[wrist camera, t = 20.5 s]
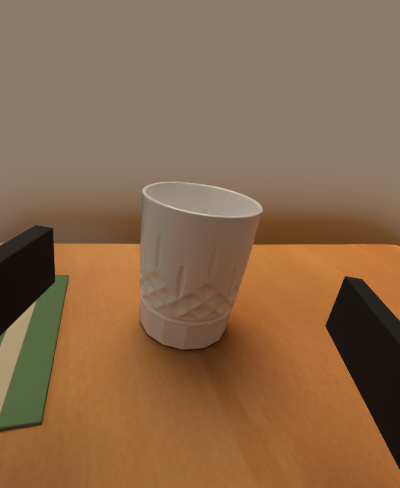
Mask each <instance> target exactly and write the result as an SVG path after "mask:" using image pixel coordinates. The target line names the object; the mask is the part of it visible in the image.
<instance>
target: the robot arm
mask: <svg viewBox="0 0 400 488" xmlns="http://www.w3.org/2000/svg"><path fill="white" fill-rule="evenodd" d="M54 283H55V264H54V242H53V228H49V227H42V226H34V227H32V228H31V229H29V230H27V231H25V232H23V233H22V234H20V235H18V236H17V237H15V238H13V239H11V240H10V241H8V242H6V243H4V244H2V245H1V246H0V336H1V335H2V334H3V333H4V332H5V331H6V330H7V329H8V328H9V327H10V326H11V325H12V324H13V323H14V322H15V321H16V320H17V319H18V318H19V317H20V316H21V315H22V314H23V313H24V312H25V311H26V310H27V309H28V308H29V307H30V306H31V305H32V304H33V303H34V302H35V301H36V300H37V299H38V298H39V297H40V296H41V295H42V294H43V293H44V292H45V291H46V290H47V289H48V288H49V287H50V286H51V285H53V284H54ZM326 328H327V330H328V332H329V334H330V336H331V338H332V340H333V342H334V344H335V346H336V347H337V349H338V351H339V353H340V355H341V357H342V359H343V361H344V363H345V365H346V367H347V369H348V371H349V373H350V375H351V376H352V378H353V380H354V382H355V384H356V386H357V388H358V390H359V392H360V394H361V396H362V398H363V400H364V402H365V404H366V405H367V407H368V409H369V411H370V413H371V415H372V417H373V419H374V421H375V423H376V425H377V427H378V429H379V431H380V433H381V434H382V436H383V438H384V440H385V442H386V444H387V446H388V448H389V450H390V452H391V454H392V456H393V458H394V460H395V462H396V464H397V465H398V467H399V469H400V321H399V320H398V319H397V317H396V316H395V315H394V314H393V313H392V312H391V311H390V310H389V309H388V307H387V306H386V305H385V304H384V303H383V302H382V301H381V300H380V299H379V297H378V296H377V295H376V294H375V293H374V292H373V291H372V290H371V289H370V287H369V286H368V285H367V284H366V283H365V282H364V281H363V280H362V279H358V278H352V277H346V276H345V278H344V280H343V283H342V285H341V288H340V291H339V293H338V296H337V298H336V301H335V303H334V306H333V308H332V311H331V313H330V316H329V318H328V321H327V323H326Z"/></svg>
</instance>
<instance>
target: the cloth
mask: <svg viewBox="0 0 400 488" xmlns="http://www.w3.org/2000/svg"><path fill="white" fill-rule="evenodd" d="M68 277H69V276H68V275H55V283H54V284H53V285H51V286H50V287H49V288H48V289H47V290H46V291H45V292H44V293H43V294H42V295H41V296H40V297H39V298H38V299H37V300H36V301H35V302H34V303H33V304H32V305H31V306H30V307H29V308H28V309H27V310H26V311H25V312H24V313H23V314H22V315H21V316H20V317H19V318H18V319H17V320H16V321H15V322H14V323H13V324H12V325H11V326H10V327H9V328H8V329H7V330H6V331H5V332H4V333H3V334H2V335H1V336H0V431H2V430H9V429H15V428H21V427H28V426H34V425H40V424H42V420H43V414H44V409H45V403H46V398H47V392H48V387H49V381H50V376H51V370H52V365H53V359H54V354H55V348H56V343H57V337H58V332H59V326H60V321H61V315H62V310H63V305H64V299H65V294H66V288H67V283H68Z"/></svg>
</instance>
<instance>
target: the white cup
mask: <svg viewBox="0 0 400 488" xmlns="http://www.w3.org/2000/svg"><path fill="white" fill-rule="evenodd" d="M262 212H263V208H262V206H261V205H260V204H259V203H258V202H257V201H255V200H254V199H252V198H250V197H247V196H245V195H243V194H240V193H237V192H234V191H230V190H227V189H223V188H219V187H214V186H208V185H203V184H196V183H187V182H160V183H153V184H150V185H147V186H145V187H144V188H143V190H142V216H141V241H140V287H141V303H140V321H141V323H142V325H143V327H144V329H145V331H146V333H147V334H148V335H149V336H151V337H152V338H154V339H155V340H156V341H158V342H159V343H161V344H163V345H166V346H170V347H174V348H178V349H182V350H187V349H200V348H205V347H207V346H209V345H211V344H213V343H215V342H217V341H219V340H220V338H221V336H222V334H223V333H224V331H225V329H226V327H227V324H228V320H229V316H230V313H231V309H232V307H233V305H234V303H235V300H236V297H237V294H238V291H239V287H240V284H241V281H242V278H243V275H244V272H245V269H246V266H247V263H248V259H249V256H250V252H251V249H252V245H253V242H254V239H255V235H256V231H257V228H258V225H259V222H260V218H261V215H262Z"/></svg>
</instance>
